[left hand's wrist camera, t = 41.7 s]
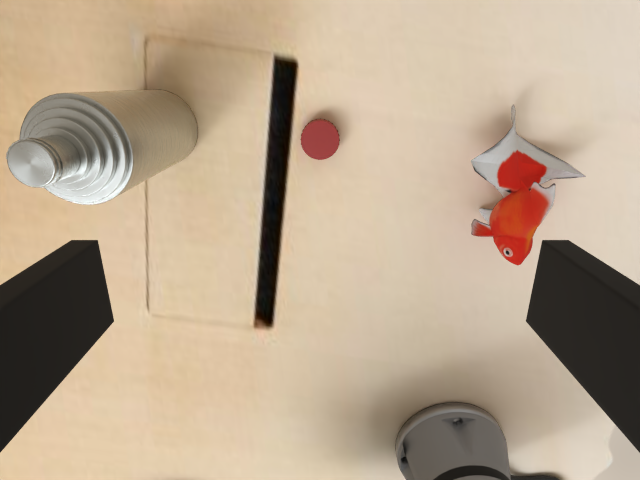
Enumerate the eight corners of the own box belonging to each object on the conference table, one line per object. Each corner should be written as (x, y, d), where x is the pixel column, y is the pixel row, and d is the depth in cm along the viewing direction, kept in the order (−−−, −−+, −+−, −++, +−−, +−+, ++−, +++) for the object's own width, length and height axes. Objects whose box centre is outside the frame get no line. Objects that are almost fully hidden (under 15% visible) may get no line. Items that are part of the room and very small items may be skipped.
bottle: (206, 105, 44) (108, 125, 24) (187, 174, 46) (86, 243, 26) (133, 78, 43) (-34, 73, 23) (118, 149, 45) (-43, 201, 25)
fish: (425, 249, 44) (503, 251, 35) (447, 109, 46) (527, 77, 36) (497, 266, 49) (582, 272, 40) (515, 138, 50) (602, 116, 41)
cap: (294, 143, 45) (293, 146, 43) (314, 111, 44) (314, 112, 42) (325, 164, 46) (325, 167, 44) (346, 132, 45) (347, 134, 43)
